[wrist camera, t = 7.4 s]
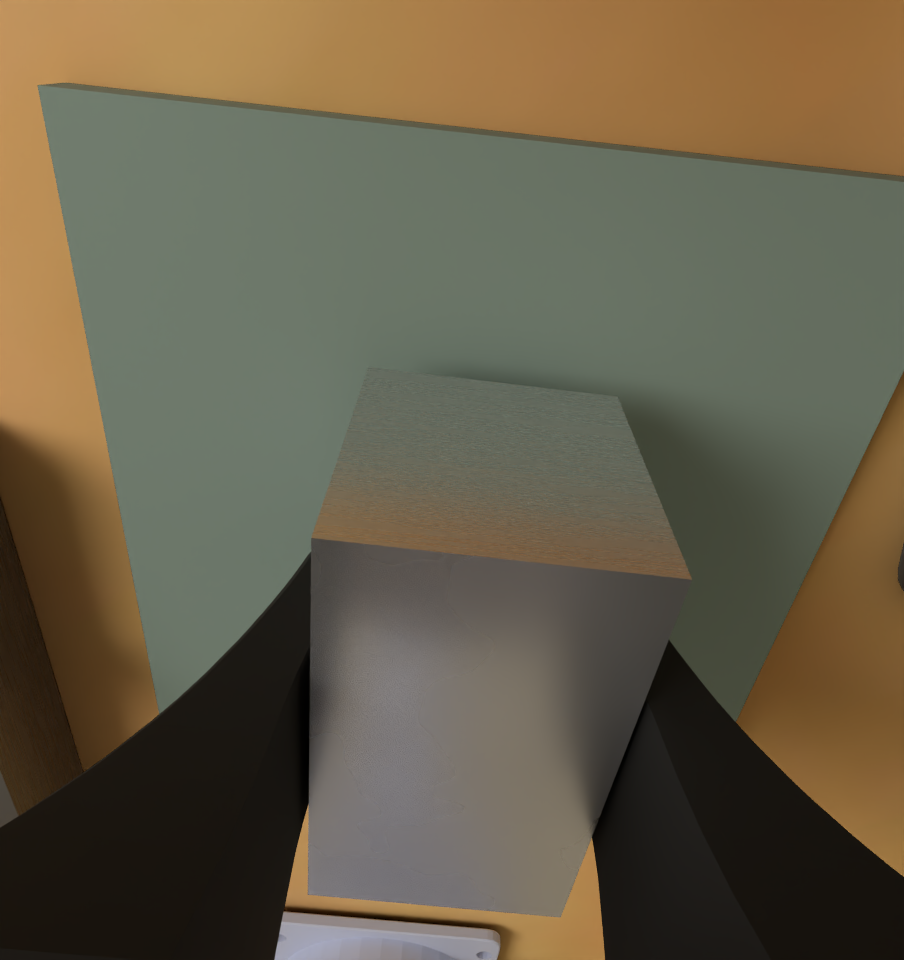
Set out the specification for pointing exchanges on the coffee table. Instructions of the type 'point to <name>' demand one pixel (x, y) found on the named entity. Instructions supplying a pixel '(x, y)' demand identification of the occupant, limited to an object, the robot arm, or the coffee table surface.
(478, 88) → the coffee table surface
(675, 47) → the coffee table surface
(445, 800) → the rectangular metal block
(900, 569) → the phone
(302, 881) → the coffee table surface
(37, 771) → the hand plane
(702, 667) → the rubber mat
